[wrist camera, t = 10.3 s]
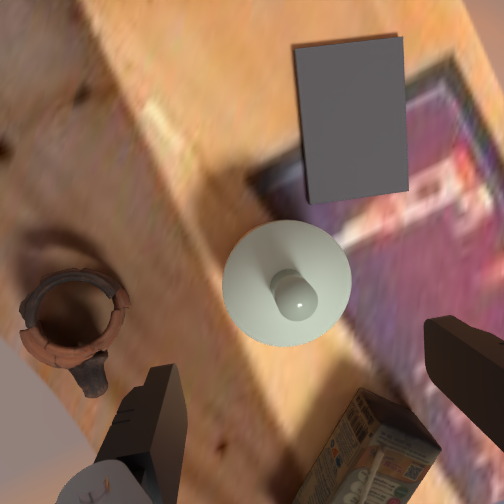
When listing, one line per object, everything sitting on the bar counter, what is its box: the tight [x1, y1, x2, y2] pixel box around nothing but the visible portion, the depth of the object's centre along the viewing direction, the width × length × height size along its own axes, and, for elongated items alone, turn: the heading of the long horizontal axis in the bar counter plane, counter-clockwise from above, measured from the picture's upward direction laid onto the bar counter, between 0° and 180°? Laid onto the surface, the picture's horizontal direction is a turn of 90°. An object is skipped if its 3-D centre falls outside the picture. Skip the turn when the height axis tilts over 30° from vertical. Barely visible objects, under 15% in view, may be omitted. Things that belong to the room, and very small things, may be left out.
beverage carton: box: [292, 388, 442, 504], centre depth 38 cm, size 8×19×7 cm, turn 153°
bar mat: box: [294, 36, 409, 205], centre depth 33 cm, size 14×10×1 cm
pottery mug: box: [19, 268, 131, 398], centre depth 32 cm, size 12×10×8 cm
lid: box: [222, 220, 351, 347], centre depth 28 cm, size 11×11×5 cm
